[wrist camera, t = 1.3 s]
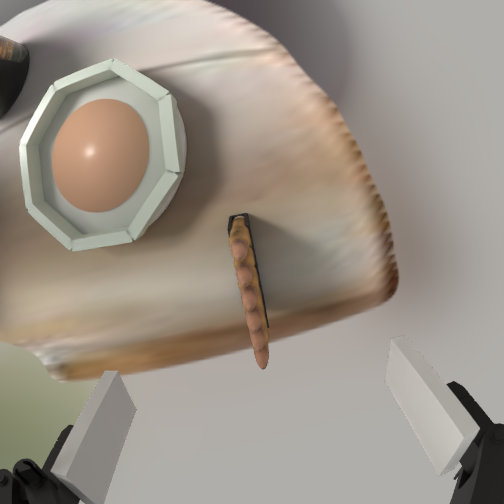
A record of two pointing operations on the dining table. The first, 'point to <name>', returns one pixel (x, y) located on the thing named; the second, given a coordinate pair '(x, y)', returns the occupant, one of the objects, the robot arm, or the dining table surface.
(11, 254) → the dining table surface
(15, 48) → the jar
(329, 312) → the dining table surface
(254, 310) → the ammunition clip
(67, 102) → the octagonal tray
